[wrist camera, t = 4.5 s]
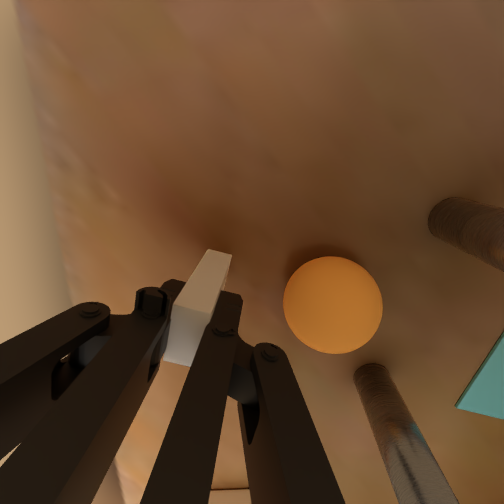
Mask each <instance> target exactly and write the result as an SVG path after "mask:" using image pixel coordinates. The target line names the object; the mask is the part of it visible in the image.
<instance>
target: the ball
mask: <svg viewBox="0 0 504 504" xmlns="http://www.w3.org/2000/svg"><path fill="white" fill-rule="evenodd" d="M283 309H284V314H285V318H286V321H287V323H288V325H289V327H290V329H291V330H292V332H293V333H294V334H295V335H296V337H297V338H298V339H299V340H300V341H302V342H303V343H304V344H306V345H307V346H309V347H311V348H313V349H315V350H317V351H320V352H324V353H330V354H341V353H347V352H351V351H353V350H356V349H358V348H359V347H361V346H363V345H364V344H365V343H367V342H368V341H369V340H370V339H371V338H372V336H373V335H374V334H375V332H376V331H377V329H378V327H379V324H380V321H381V318H382V312H383V303H382V297H381V293H380V290H379V288H378V286H377V284H376V282H375V280H374V279H373V277H372V276H371V275H370V274H369V273H368V272H367V271H366V270H365V269H364V268H363V267H361V266H360V265H358V264H357V263H355V262H353V261H351V260H348V259H345V258H341V257H334V256H326V257H320V258H316V259H313V260H311V261H309V262H307V263H305V264H303V265H302V266H301V267H299V268H298V269H297V270H296V271H295V272H294V273H293V275H292V276H291V278H290V279H289V281H288V283H287V285H286V288H285V291H284V297H283Z"/></svg>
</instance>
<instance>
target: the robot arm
mask: <svg viewBox="0 0 504 504" xmlns="http://www.w3.org/2000/svg"><path fill="white" fill-rule="evenodd" d="M231 258H232V255H231V254H227V253H223V252H219V251H215V250H211V249H208V250H207V251H206V253H205V254H204V256H203V257H202V259H201V261H200V262H199V264H198V265H197V267H196V268H195V270H194V272H193V273H192V275H191V276H190V278H189V279H188V281H187V282H183V281H179V280H175V279H171V280H169V281H166V282H164V284H163V285H162V286H161V287H160V288H158V287H145V288H142V289H139V290H138V291H136V300H135V308H134V311H133V312H132V313H131V314H128V315H113V314H110V311H111V310H110V308H109V307H108V306H107V305H105V304H103V303H99V302H86V303H81V304H78V305H76V306H74V307H72V308H70V309H68V310H66V311H64V312H62V313H60V314H58V315H56V316H54V317H52V318H50V319H48V320H46V321H44V322H43V323H41V324H39V325H37V326H35V327H33V328H31V329H29V330H27V331H25V332H23V333H21V334H19V335H17V336H15V337H14V338H11V339H9V340H7V341H5V342H4V343H2V344H0V460H1V459H2V458H3V457H5V456H6V455H7V454H8V453H9V452H10V451H12V450H13V449H14V448H15V447H16V446H18V445H19V444H20V443H21V444H20V445H19V446H18V447H17V448H16V449H15V451H14V452H13V453H12V454H11V455H10V457H9V458H8V459H7V460H6V461H5V462H4V464H3V465H2V466H1V467H0V504H91V503H92V501H93V499H94V496H95V495H96V493H97V491H98V489H99V487H100V485H101V483H102V481H103V479H104V477H105V475H106V473H107V471H108V469H109V467H110V465H111V463H112V461H113V459H114V457H115V455H116V453H117V451H118V449H119V447H120V445H121V443H122V441H123V439H124V437H125V435H126V433H127V431H128V429H129V427H130V425H131V423H132V422H133V420H134V418H135V416H136V414H137V412H138V410H139V408H140V406H141V404H142V402H143V400H144V398H145V396H146V394H147V392H148V390H149V388H150V386H151V384H152V382H153V380H154V378H155V376H156V374H157V372H158V370H159V366H160V360H161V358H162V356H163V354H164V359H163V360H164V361H168V362H172V363H176V364H180V365H185V366H189V367H190V370H189V373H188V375H187V378H186V381H185V383H184V386H183V389H182V391H181V394H180V397H179V400H178V402H177V405H176V408H175V410H174V413H173V416H172V418H171V421H170V424H169V426H168V429H167V432H166V435H165V437H164V440H163V443H162V445H161V448H160V451H159V453H158V456H157V459H156V461H155V464H154V467H153V470H152V472H151V475H150V478H149V480H148V483H147V486H146V488H145V491H144V494H143V496H142V499H141V502H140V504H208V502H209V496H210V490H211V485H212V479H213V473H214V468H215V462H216V457H217V451H218V445H219V440H220V434H221V428H222V423H223V417H224V411H225V406H226V400H227V395H228V396H230V397H232V398H233V399H235V400H237V401H238V404H237V406H238V413H239V420H240V427H241V434H242V441H243V448H244V455H245V462H246V469H247V476H248V483H249V490H250V497H251V504H345V501H344V499H343V496H342V494H341V491H340V489H339V486H338V484H337V481H336V478H335V476H334V473H333V471H332V468H331V466H330V463H329V461H328V458H327V456H326V453H325V451H324V448H323V446H322V443H321V441H320V438H319V436H318V433H317V431H316V428H315V426H314V423H313V421H312V418H311V415H310V413H309V410H308V408H307V405H306V403H305V400H304V398H303V395H302V393H301V390H300V388H299V385H298V383H297V380H296V378H295V375H294V373H293V370H292V368H291V365H290V363H289V360H288V358H287V355H286V354H285V352H284V351H283V350H282V349H281V348H280V347H278V346H276V345H274V344H271V343H259V344H257V345H256V346H255V347H253V346H251V345H249V344H247V343H245V342H244V341H243V340H242V339H241V338H240V336H239V334H238V327H239V321H240V315H241V310H242V304H243V300H242V298H241V296H240V295H238V294H234V293H230V292H226V291H224V288H225V284H226V279H227V275H228V271H229V267H230V263H231ZM164 352H165V353H164ZM67 354H68V356H67V357H65V356H66V355H67ZM63 357H65V358H64V359H62V358H63ZM61 359H62V360H61Z"/></svg>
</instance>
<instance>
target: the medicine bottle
mask: <svg viewBox="0 0 504 504" xmlns="http://www.w3.org/2000/svg"><path fill="white" fill-rule="evenodd" d="M208 504H251V497H250V490H249V489H239V490H213V491H210V496H209V502H208Z"/></svg>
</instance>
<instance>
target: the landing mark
mask: <svg viewBox="0 0 504 504" xmlns="http://www.w3.org/2000/svg"><path fill="white" fill-rule="evenodd" d="M455 407H456V408H458V409H463V410H467V411H471V412H475V413H479V414H483V415H487V416H491V417H496V418H500V419H504V332H503V334H502V335H501V337H500V338H499V340H498V341H497V343H496V344H495V346H494V347H493V349H492V350H491V352H490V353H489V355H488V356H487V358H486V359H485V361H484V362H483V364H482V366H481V367H480V369H479V370H478V372H477V373H476V375H475V376H474V378H473V379H472V381H471V382H470V384H469V385H468V387H467V388H466V390H465V391H464V393H463V394H462V396H461V397H460V399H459V400H458V402H457V403H456V405H455Z"/></svg>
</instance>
